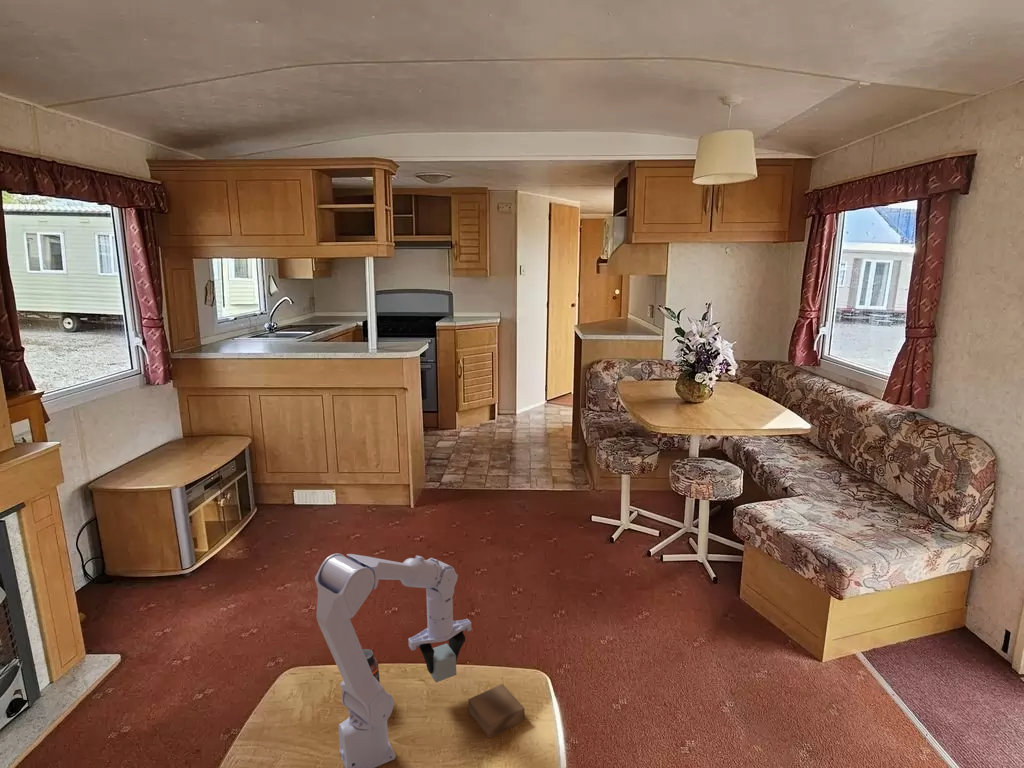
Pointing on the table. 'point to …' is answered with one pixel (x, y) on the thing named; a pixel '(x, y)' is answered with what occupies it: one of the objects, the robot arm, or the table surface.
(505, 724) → the walnut block
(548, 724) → the table surface
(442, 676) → the grey cube
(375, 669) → the supplement bottle
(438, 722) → the table surface
